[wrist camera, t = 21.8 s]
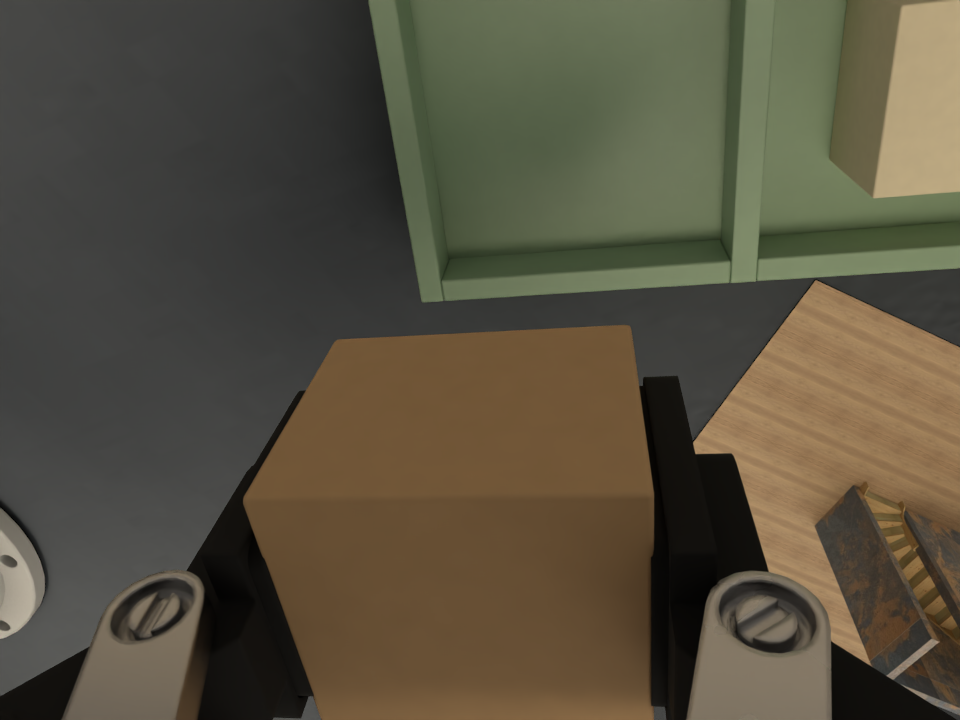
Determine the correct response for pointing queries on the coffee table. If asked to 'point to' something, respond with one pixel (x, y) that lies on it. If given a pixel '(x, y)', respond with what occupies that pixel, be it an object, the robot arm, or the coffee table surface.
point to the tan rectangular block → (899, 97)
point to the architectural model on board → (858, 480)
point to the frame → (632, 147)
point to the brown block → (467, 527)
